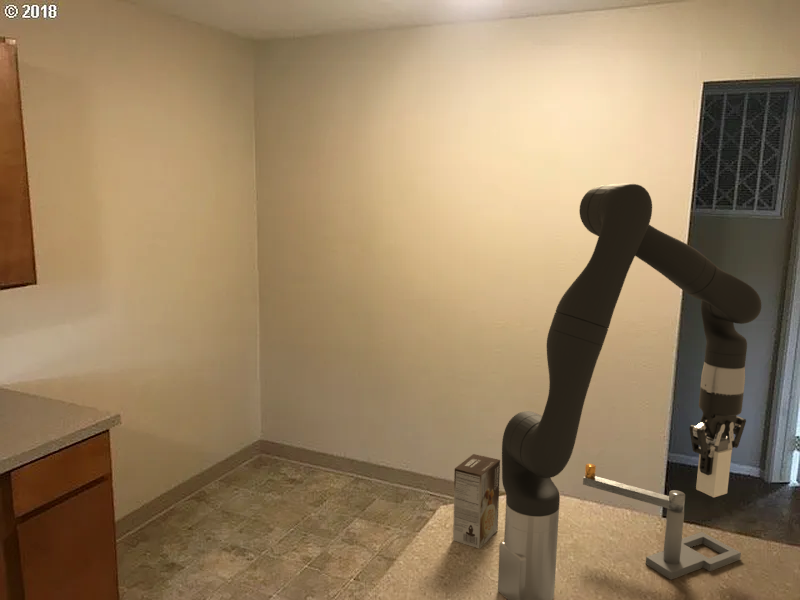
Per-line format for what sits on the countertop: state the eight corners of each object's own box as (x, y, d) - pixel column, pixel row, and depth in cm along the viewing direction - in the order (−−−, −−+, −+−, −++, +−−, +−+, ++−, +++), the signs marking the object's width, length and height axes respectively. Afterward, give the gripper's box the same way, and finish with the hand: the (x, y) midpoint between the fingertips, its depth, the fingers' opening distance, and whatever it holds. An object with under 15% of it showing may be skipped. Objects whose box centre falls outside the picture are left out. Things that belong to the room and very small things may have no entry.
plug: (713, 497, 131) (719, 443, 129) (695, 489, 135) (701, 436, 133) (727, 493, 133) (732, 440, 131) (709, 485, 136) (714, 433, 134)
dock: (677, 584, 126) (682, 525, 124) (639, 560, 134) (644, 504, 132) (740, 559, 134) (746, 503, 132) (701, 538, 142) (706, 485, 140)
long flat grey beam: (685, 507, 130) (687, 488, 129) (681, 513, 127) (683, 493, 127) (587, 480, 141) (588, 462, 140) (582, 485, 139) (583, 466, 138)
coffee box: (471, 522, 148) (473, 452, 145) (498, 530, 144) (501, 459, 142) (451, 541, 140) (453, 467, 137) (480, 550, 137) (482, 475, 134)
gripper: (728, 377, 137) (720, 457, 140) (680, 386, 130) (672, 470, 133) (763, 387, 130) (754, 471, 133) (714, 397, 123) (705, 486, 126)
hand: (713, 470), depth 133 cm, fingers closed on plug, 4 cm apart
